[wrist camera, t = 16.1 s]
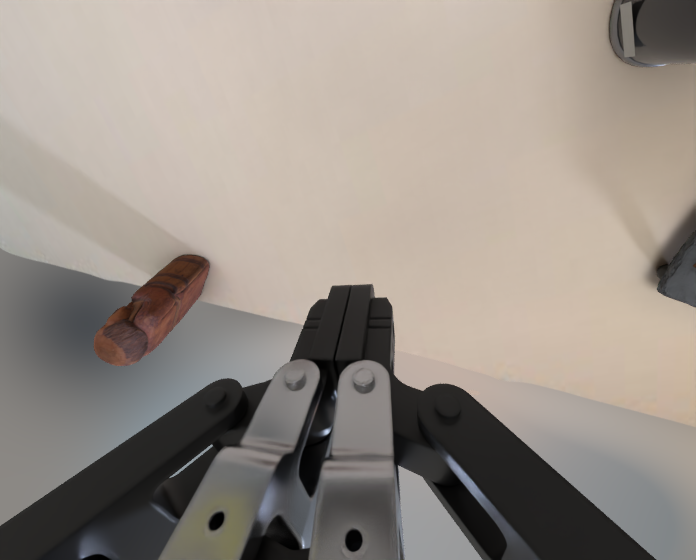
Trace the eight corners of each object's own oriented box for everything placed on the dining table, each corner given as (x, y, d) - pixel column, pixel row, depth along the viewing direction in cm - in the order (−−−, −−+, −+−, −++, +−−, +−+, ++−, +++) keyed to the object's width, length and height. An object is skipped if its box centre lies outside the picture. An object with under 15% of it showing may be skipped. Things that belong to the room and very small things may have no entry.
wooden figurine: (179, 241, 47) (78, 316, 32) (216, 262, 48) (135, 343, 33) (166, 289, 53) (77, 369, 39) (199, 306, 54) (125, 390, 40)
